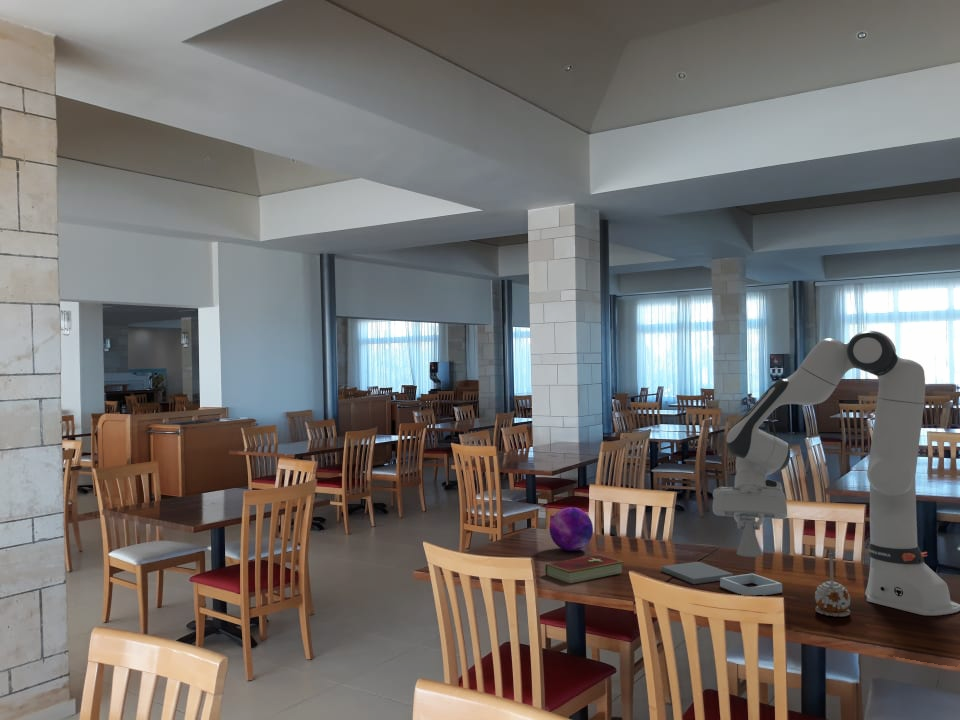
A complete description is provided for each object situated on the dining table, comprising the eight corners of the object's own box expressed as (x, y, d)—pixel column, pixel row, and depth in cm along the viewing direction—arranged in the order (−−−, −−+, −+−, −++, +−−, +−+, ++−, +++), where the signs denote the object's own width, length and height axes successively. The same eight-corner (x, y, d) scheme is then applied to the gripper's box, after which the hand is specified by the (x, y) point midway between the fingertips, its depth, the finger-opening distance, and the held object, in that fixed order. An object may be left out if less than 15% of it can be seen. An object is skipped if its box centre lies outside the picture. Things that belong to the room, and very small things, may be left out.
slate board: (733, 578, 222) (732, 573, 222) (693, 584, 217) (693, 579, 217) (698, 566, 237) (698, 561, 237) (661, 571, 232) (661, 566, 232)
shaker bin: (782, 592, 208) (782, 583, 208) (748, 597, 203) (748, 588, 203) (752, 581, 218) (752, 573, 218) (720, 586, 214) (720, 577, 214)
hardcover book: (545, 576, 230) (545, 562, 230) (598, 566, 241) (598, 553, 241) (569, 585, 220) (569, 570, 220) (623, 574, 231) (623, 560, 231)
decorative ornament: (830, 619, 184) (828, 558, 185) (809, 610, 192) (807, 551, 192) (857, 616, 186) (855, 556, 187) (835, 607, 194) (833, 549, 194)
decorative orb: (595, 555, 253) (594, 511, 254) (550, 555, 254) (549, 511, 255) (591, 545, 268) (590, 503, 269) (549, 545, 269) (548, 503, 270)
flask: (766, 558, 207) (765, 521, 208) (739, 558, 208) (738, 521, 208) (759, 551, 215) (758, 516, 215) (733, 551, 215) (732, 516, 215)
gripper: (712, 480, 222) (709, 519, 213) (786, 482, 214) (786, 523, 205) (714, 493, 226) (711, 532, 217) (787, 496, 218) (787, 536, 209)
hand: (748, 528), depth 211 cm, fingers closed on flask, 3 cm apart
